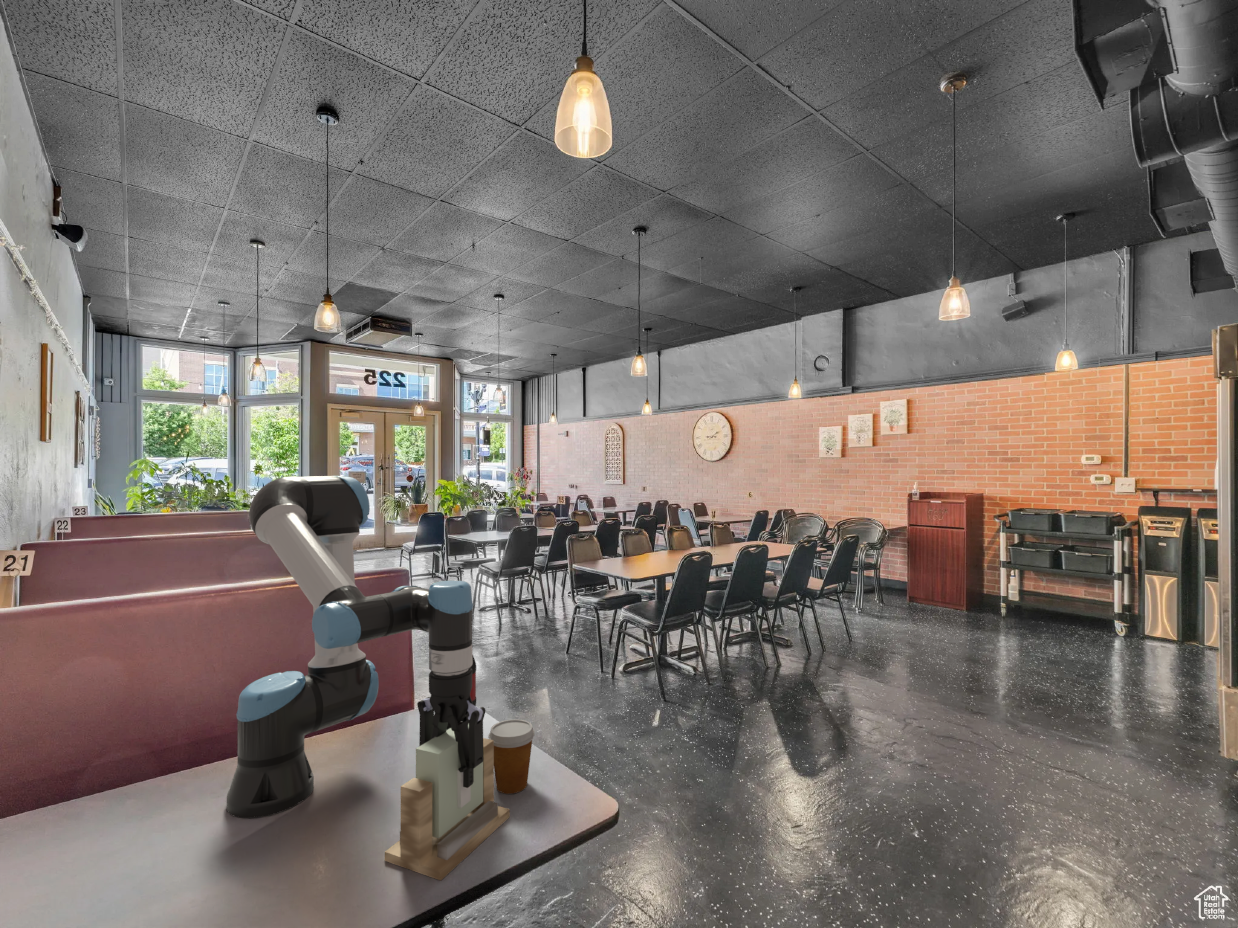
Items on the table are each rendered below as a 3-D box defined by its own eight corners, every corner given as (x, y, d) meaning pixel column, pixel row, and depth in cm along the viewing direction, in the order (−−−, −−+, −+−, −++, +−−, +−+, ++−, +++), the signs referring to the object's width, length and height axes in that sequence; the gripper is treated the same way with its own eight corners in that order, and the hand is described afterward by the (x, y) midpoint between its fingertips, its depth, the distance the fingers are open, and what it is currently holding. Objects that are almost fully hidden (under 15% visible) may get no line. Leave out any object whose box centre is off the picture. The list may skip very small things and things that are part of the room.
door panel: (415, 830, 101) (415, 748, 101) (461, 795, 112) (461, 721, 112) (438, 838, 99) (438, 753, 99) (483, 801, 110) (482, 725, 110)
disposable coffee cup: (525, 800, 117) (525, 739, 117) (480, 795, 119) (480, 735, 119) (541, 776, 126) (541, 720, 126) (499, 772, 128) (499, 716, 128)
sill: (382, 862, 99) (382, 781, 99) (460, 801, 117) (460, 732, 117) (438, 882, 94) (438, 796, 94) (511, 815, 112) (511, 743, 112)
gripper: (396, 669, 106) (396, 799, 105) (478, 682, 99) (479, 823, 98) (426, 657, 113) (426, 779, 112) (505, 669, 105) (505, 800, 105)
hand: (451, 799), depth 105 cm, fingers closed on door panel, 5 cm apart
